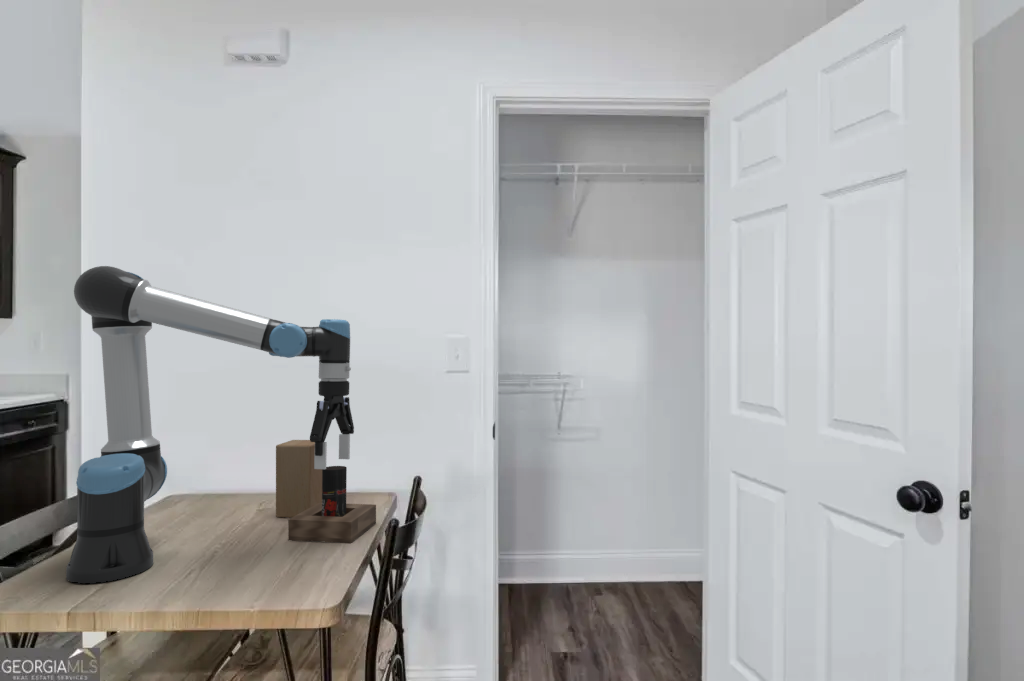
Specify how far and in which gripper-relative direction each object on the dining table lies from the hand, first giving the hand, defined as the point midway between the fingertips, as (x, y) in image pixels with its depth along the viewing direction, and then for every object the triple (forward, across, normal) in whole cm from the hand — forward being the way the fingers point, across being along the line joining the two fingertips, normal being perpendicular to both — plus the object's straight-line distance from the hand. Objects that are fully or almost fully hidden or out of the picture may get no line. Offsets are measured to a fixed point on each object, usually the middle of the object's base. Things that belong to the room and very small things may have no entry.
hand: (332, 463), depth 149 cm
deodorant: (+16, 0, 0) cm, 16 cm away
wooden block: (+18, +15, +16) cm, 28 cm away
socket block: (+17, 0, -1) cm, 17 cm away
